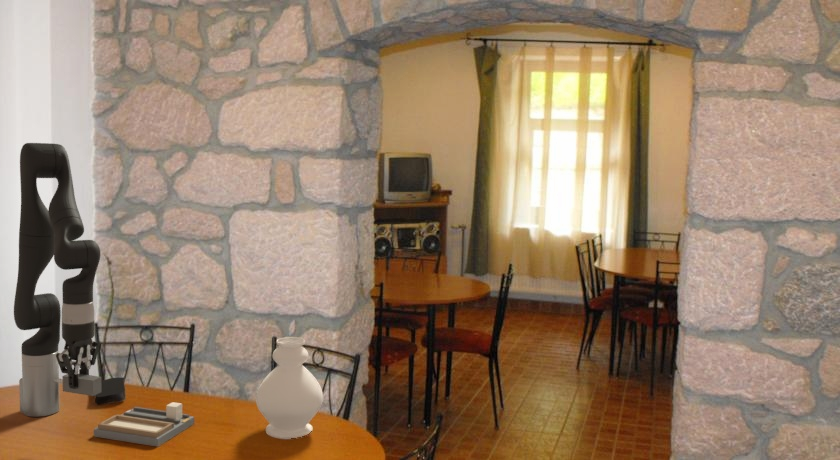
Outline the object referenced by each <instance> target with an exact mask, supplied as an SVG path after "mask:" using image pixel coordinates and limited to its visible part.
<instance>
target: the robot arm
mask: <svg viewBox="0 0 840 460" xmlns="http://www.w3.org/2000/svg"><path fill="white" fill-rule="evenodd" d="M69 158H70V157H69V155H68V151H67V150H66V148H65V147H64V146H63V145H62V144H58V143H49V142H48V143H43V142H42V143H41V142H26V143H24V144H23V145H22V147H21V149H20V154H19V176H20V178H19V180H20V213H19V215H20V217H19V231H18V267H17V280H16V288H15V295H14V302H13V319H14V322H15V326H16V327H17V328H18V329H19V330H21V331H31V330H36V329H38V331H36V332H35V334H34V335H32V336H31V337H29V338H28V339H25V340H24V341H23V342H22V344H21V372H22V373H21V375H22V376H21V377H22V378H20V379H19V381H18V383H19V384H18V386H19V413H21V414H23V415H25V416H26V417H46V416H50V415H53V414H56V413H57V412H60V383H58V382H53V381H52V380H53V378H58V379H60V371H61V373H62V374H65V375H66V374H68V382H69V387H70V388H72V389H76V388H78V374H85V375H90V369H91V367H92V366H94V365H95V364H96V361H97V357H98V352H99V349H100V345H101V343H100V342H99V341H93V338H94V337H95V336H96V335H95V334H96V333H95V306H94V283H95V277H96V274H97V270H98V268H99V264H100V260H101V249H100V246H99V244H98V243H97V242H96V241H95V240H93V239H79V238H81V237H82V236H83V234H85V233H84V232H85V226H84V224H83V219H82V217H81V214H80V212H79V208H78V206H77V201H76V197H75V188H74V183H73V182H74V181H73V176H72V170H71V164H70V159H69ZM37 179H56V180H57V184H58V185H57V187H56V191H55V192H54V195H53V197H52V198H51V200H50V202H49V204H48V205H49V206H48V208H47V207H46V205H45V204H44V202H43V200H42V198H41V196H40V193H39V190H38V185H37ZM78 239H79V240H78ZM52 259H54V260H53V261H54V263H55V264H56V265H57V267H58V268H59V269H61V270H66V271H67V270H77V269H78V270H79V269H81V270H80V272H79V273H78V274H77V275H75V276H73V277H69V278H66V279H64V280H63V282H62V307H61V304H60V301H59V299H58V297H57V296H56V295H55V294H54V293H52V292H51V293H40V294H35V292H36V287H37V284H38V281H39V279H40V277H41V275H42V274H43V272H44V271H45V269H46V268H47V267H48V265H49V263H50V262H51V261H52ZM61 338H62V339H63V340H64V342H65V344H64V347H63V351H62V352H59V345H60V344H59V343H60V340H61ZM59 368H60V369H59Z"/></svg>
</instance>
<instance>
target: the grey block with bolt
mask: <svg viewBox="0 0 840 460" xmlns="http://www.w3.org/2000/svg"><path fill="white" fill-rule="evenodd" d="M101 380H102V376H98V375H91V374H89V375H85V374H79V373H78V388H76V389H72V388H70V387H69V382H68V374H66V373H65V374H64V375H62V378H59V379H58V378H53V380H52V381H53V382H58V383H59V384H62V392H65V393H70V394H71V393H72V394H78V395H82V396H83V395H84V396H91V397H95V395H96V394H99V393H101Z"/></svg>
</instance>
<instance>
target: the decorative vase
mask: <svg viewBox="0 0 840 460" xmlns="http://www.w3.org/2000/svg"><path fill="white" fill-rule="evenodd" d="M305 344H306V340H305V339H304V338H303V337H299V336H298V337H297V336H286V337H280V338H278V339H276V345H278V347H276V348H275V350H273V352H272V359H273V361H274V362H275V363H276V364H277V366H275V367H274V368H273V370H271V371H270V372H269V373H268V374H267V375H266V377H264V379H263V381H261V384H260V385H259V387H258V389H257V392H256V394H255V401H256V402H255V403H256V406H257V409H258V411H259V412H260V413H261V415H262V416H263V417H264V418H265V420H266V421H267V422H268V423H269V424H268V425H266V427H265V433H266V434H267V435H268V436H269V437H271V438H275V439H280V440H292V439H291V438H296V439H298V438H297V437H301V438H303V437H302V436H304V435H307V434H309V433H310V432H311V431H312V432H313V425H311V424H310V422H311V420H312V419H313V418H314V417H315V416H316V415H317V413H318V412H319V410H320V409H321V407H322V405H323V402H324V393H323V389H322V387H321V385H320V383H319V382H318V380H317V378H316V377H315V376H314V374H313V373H312V372H311V371H310V370H308V369H307V368H306V367H305V365H303V364H305V362H306V361H307V360H308V358H309V352H308V350H307V349H306V348H305V347H304V345H305ZM312 432H311V433H312ZM311 433H310V434H311ZM310 434H309V435H310ZM307 436H308V435H307Z"/></svg>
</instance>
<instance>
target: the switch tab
mask: <svg viewBox="0 0 840 460" xmlns="http://www.w3.org/2000/svg"><path fill="white" fill-rule="evenodd" d="M165 411H166V418H170V419H177V420H179V419H181V418H182V414H183V403H180V402H173V401H172V402H170V403H168V404H166V408H165Z"/></svg>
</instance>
